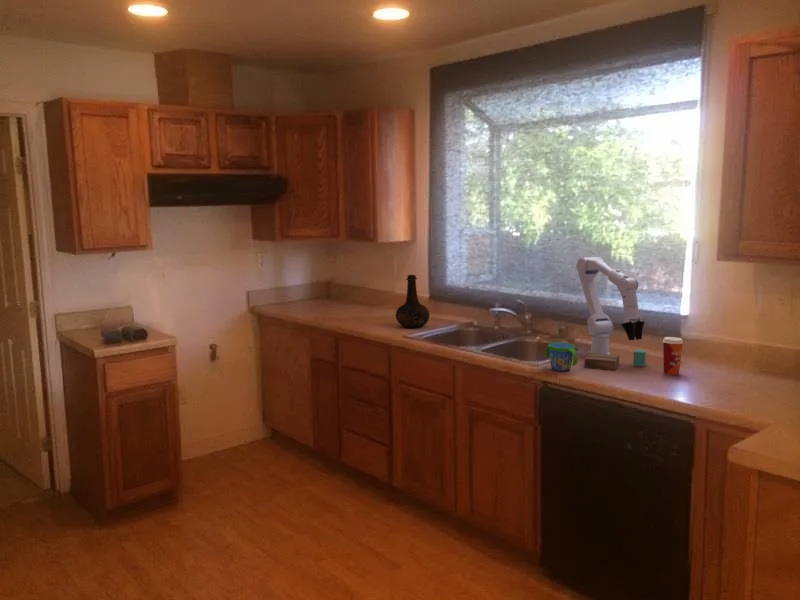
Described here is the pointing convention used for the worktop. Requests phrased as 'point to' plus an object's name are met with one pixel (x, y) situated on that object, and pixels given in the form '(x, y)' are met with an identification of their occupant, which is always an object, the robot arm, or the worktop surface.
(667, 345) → the paper cup
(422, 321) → the glass bottle
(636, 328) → the robot arm
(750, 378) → the worktop surface
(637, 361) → the teal block
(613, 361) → the walnut base
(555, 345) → the snack cup
